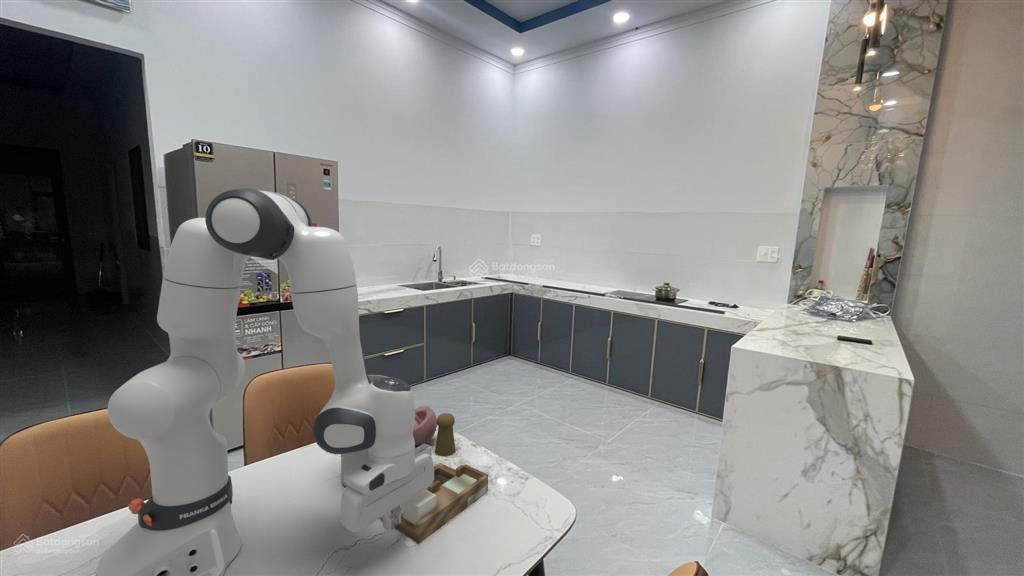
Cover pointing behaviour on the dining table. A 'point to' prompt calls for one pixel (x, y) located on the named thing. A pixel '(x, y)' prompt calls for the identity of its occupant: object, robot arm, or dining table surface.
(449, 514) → the box
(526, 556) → the dining table surface
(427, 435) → the mortar and pestle
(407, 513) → the block
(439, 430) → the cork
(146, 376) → the robot arm
